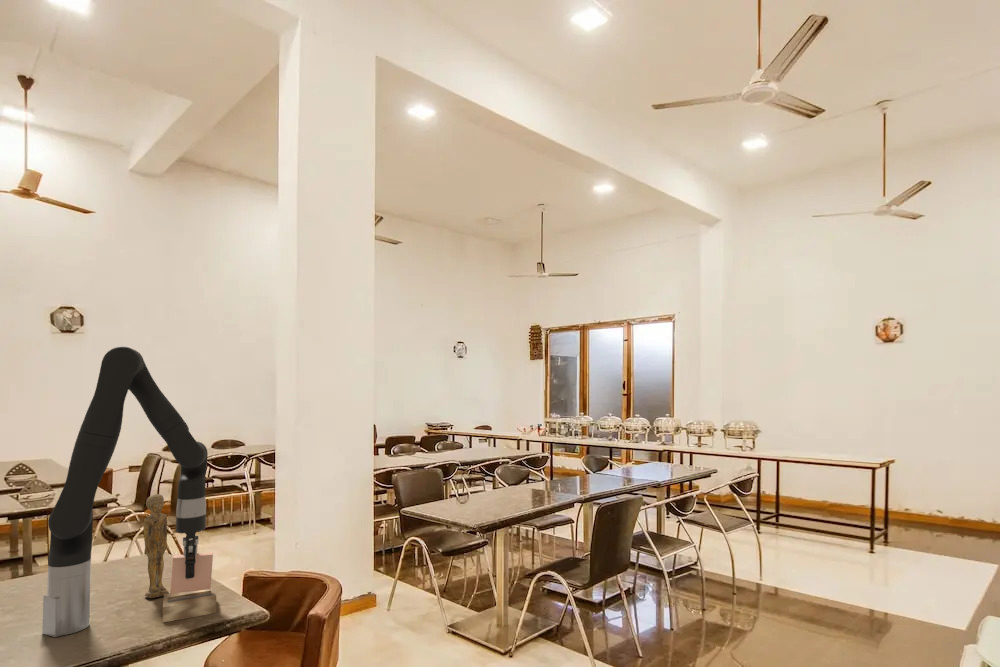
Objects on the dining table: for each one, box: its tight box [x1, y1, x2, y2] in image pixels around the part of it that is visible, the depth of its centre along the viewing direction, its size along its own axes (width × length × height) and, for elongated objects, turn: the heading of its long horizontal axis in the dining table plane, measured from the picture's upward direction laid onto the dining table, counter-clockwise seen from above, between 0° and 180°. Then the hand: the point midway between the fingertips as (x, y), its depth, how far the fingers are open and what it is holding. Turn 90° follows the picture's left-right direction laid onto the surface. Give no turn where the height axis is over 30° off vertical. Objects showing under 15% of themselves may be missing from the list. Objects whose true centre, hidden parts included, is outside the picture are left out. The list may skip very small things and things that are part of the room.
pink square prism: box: [169, 551, 214, 594], centre depth 170 cm, size 10×3×10 cm, turn 117°
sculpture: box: [143, 493, 170, 599], centre depth 182 cm, size 7×6×30 cm
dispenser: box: [162, 585, 217, 623], centre depth 170 cm, size 13×11×5 cm
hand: (189, 575), depth 170 cm, fingers closed on pink square prism, 2 cm apart
